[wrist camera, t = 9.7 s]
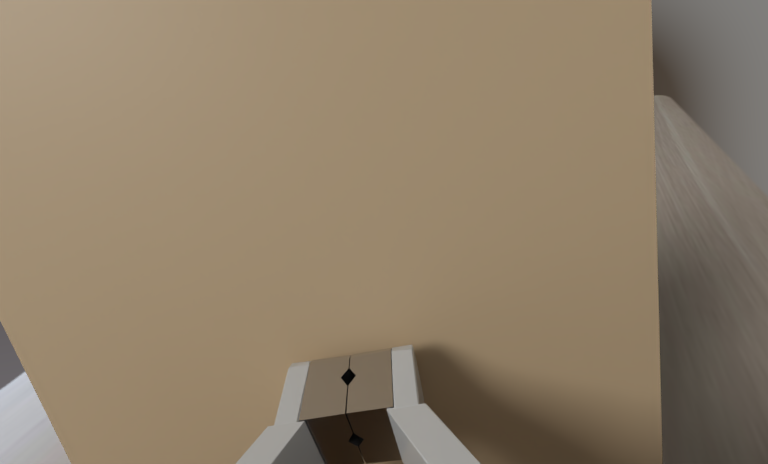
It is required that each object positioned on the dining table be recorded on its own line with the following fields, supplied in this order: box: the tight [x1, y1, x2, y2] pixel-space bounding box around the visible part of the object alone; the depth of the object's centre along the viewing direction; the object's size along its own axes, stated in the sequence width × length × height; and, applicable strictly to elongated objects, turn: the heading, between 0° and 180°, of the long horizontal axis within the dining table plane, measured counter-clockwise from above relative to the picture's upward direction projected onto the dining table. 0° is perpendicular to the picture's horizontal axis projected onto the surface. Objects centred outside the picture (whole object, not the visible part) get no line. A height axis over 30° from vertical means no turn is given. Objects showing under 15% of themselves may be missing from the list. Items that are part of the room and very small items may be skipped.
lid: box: [0, 0, 663, 464], centre depth 9 cm, size 16×16×1 cm
